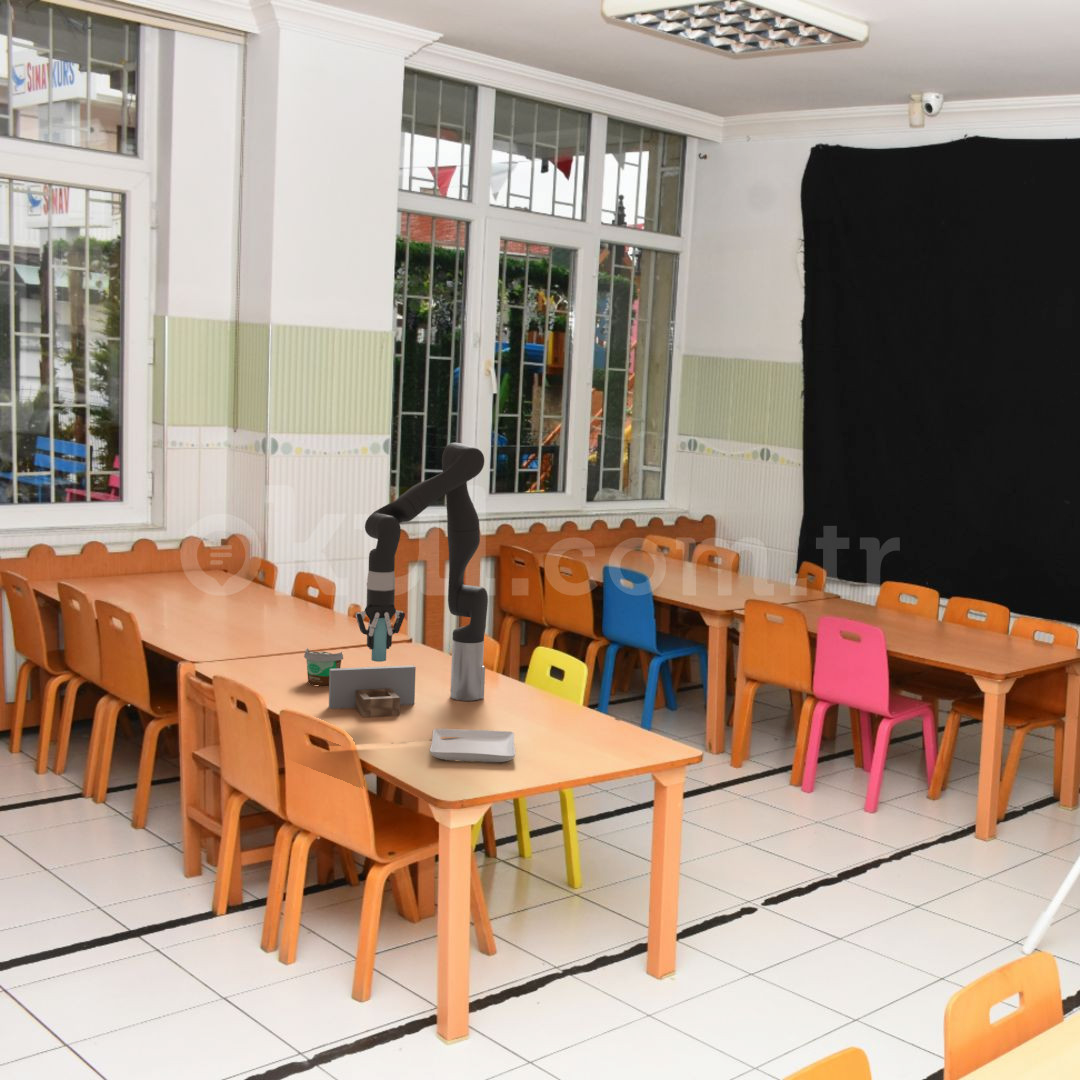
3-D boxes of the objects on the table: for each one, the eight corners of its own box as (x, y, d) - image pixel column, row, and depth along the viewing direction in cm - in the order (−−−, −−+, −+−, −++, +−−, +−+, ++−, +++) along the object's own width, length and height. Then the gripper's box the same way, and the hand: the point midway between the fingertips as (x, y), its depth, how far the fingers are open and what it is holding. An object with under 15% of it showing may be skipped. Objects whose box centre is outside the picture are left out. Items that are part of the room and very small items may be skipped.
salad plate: (513, 742, 342) (514, 729, 341) (515, 767, 321) (515, 754, 320) (432, 739, 341) (433, 727, 340) (428, 765, 320) (429, 751, 319)
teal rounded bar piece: (384, 657, 360) (385, 615, 358) (387, 661, 356) (389, 618, 354) (369, 658, 358) (371, 615, 357) (373, 661, 355) (374, 618, 353)
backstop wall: (412, 706, 370) (413, 665, 369) (414, 708, 369) (415, 666, 367) (328, 710, 362) (329, 668, 360) (330, 712, 360) (331, 670, 358)
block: (390, 705, 366) (391, 688, 365) (399, 715, 356) (399, 697, 356) (355, 707, 362) (355, 690, 362) (363, 717, 353) (363, 699, 352)
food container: (296, 684, 389) (296, 651, 387) (305, 680, 394) (306, 647, 393) (333, 689, 385) (334, 656, 384) (342, 684, 391) (343, 652, 389)
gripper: (358, 590, 348) (356, 652, 351) (409, 588, 353) (407, 650, 356) (352, 585, 355) (350, 646, 358) (402, 584, 360) (401, 644, 363)
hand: (379, 648), depth 357 cm, fingers closed on teal rounded bar piece, 4 cm apart
